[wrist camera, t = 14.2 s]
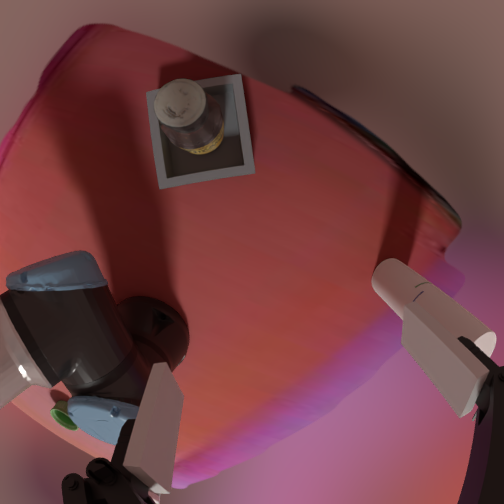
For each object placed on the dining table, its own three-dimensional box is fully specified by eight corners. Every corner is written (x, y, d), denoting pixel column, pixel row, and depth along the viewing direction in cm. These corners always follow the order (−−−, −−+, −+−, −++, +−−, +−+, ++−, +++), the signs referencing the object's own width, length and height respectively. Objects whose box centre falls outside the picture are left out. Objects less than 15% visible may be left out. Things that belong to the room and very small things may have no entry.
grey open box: (169, 185, 39) (159, 189, 34) (157, 100, 35) (146, 92, 30) (252, 172, 39) (255, 173, 34) (240, 85, 35) (241, 73, 30)
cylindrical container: (364, 277, 46) (449, 366, 22) (394, 250, 44) (493, 320, 21) (382, 302, 47) (459, 390, 24) (410, 276, 46) (498, 350, 22)
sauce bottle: (189, 161, 38) (145, 160, 19) (175, 122, 36) (122, 89, 17) (232, 145, 37) (229, 127, 18) (218, 105, 35) (202, 55, 17)
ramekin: (64, 416, 56) (58, 426, 51) (51, 395, 53) (45, 406, 49) (88, 422, 56) (83, 433, 52) (75, 401, 53) (69, 413, 49)
